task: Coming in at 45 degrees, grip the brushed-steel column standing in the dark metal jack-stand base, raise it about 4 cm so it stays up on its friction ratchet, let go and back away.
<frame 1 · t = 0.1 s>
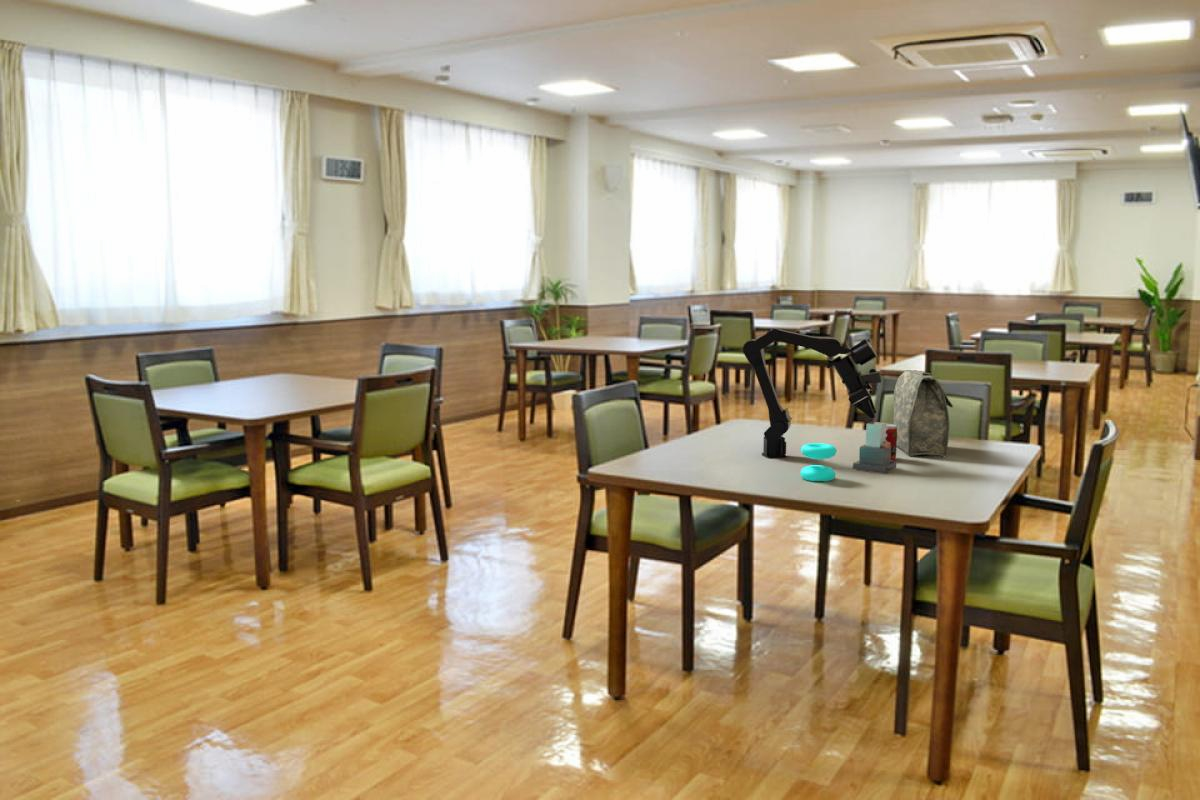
hand: (874, 415, 307), 15 cm above the table, tool tilted 30°, fingers open, 9 cm apart
stand base: (874, 468, 298), on the table
bag: (919, 451, 328), on the table
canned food: (883, 459, 314), on the table
donuts: (817, 479, 284), on the table
column: (876, 442, 297), point 8 cm above the table, slide at 0.0 cm
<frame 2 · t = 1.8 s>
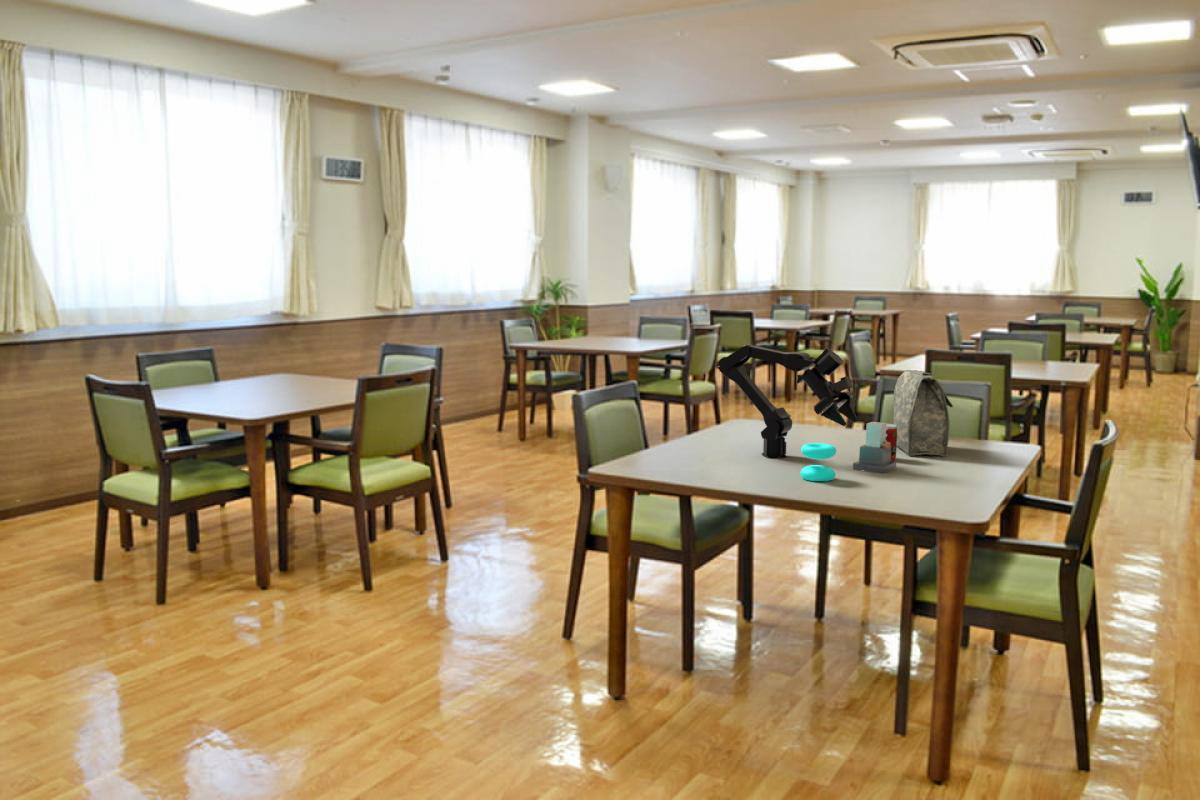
hand: (851, 423, 301), 13 cm above the table, tool tilted 45°, fingers open, 9 cm apart
nothing on the table moved.
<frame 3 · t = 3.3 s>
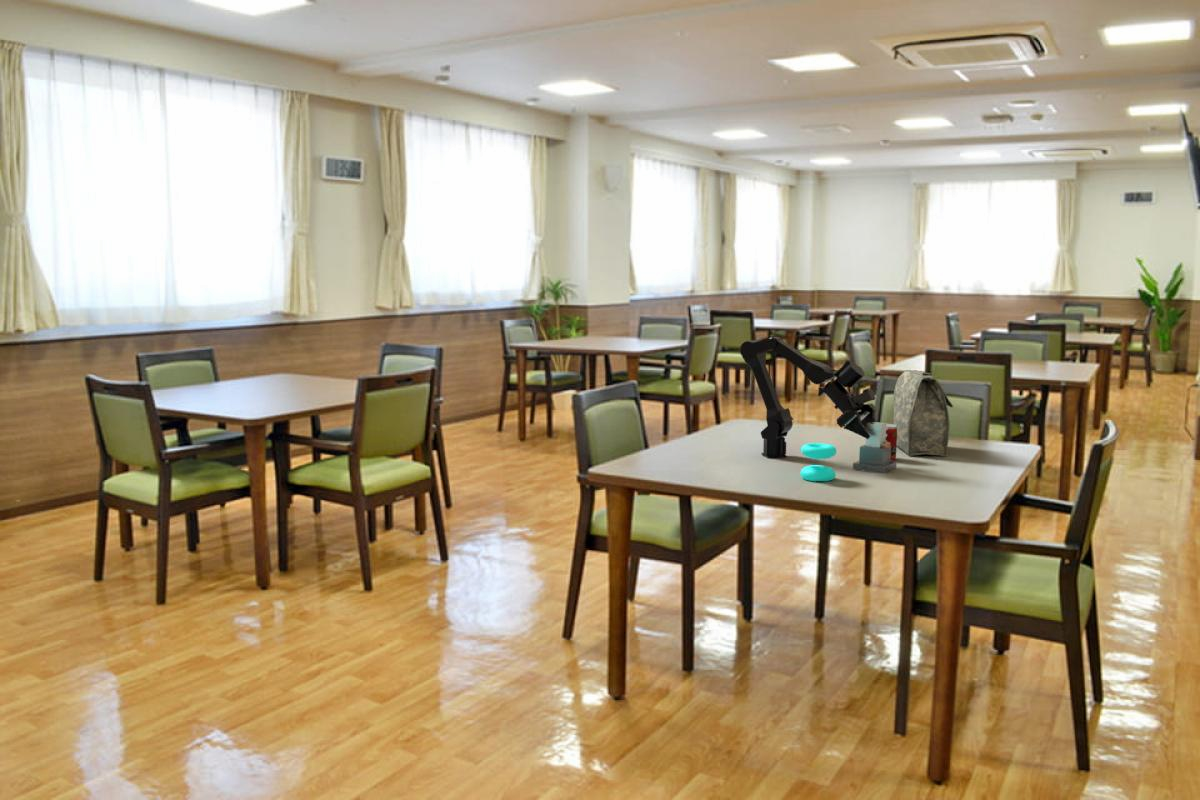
hand: (874, 435, 297), 10 cm above the table, tool tilted 45°, fingers open, 9 cm apart
nothing on the table moved.
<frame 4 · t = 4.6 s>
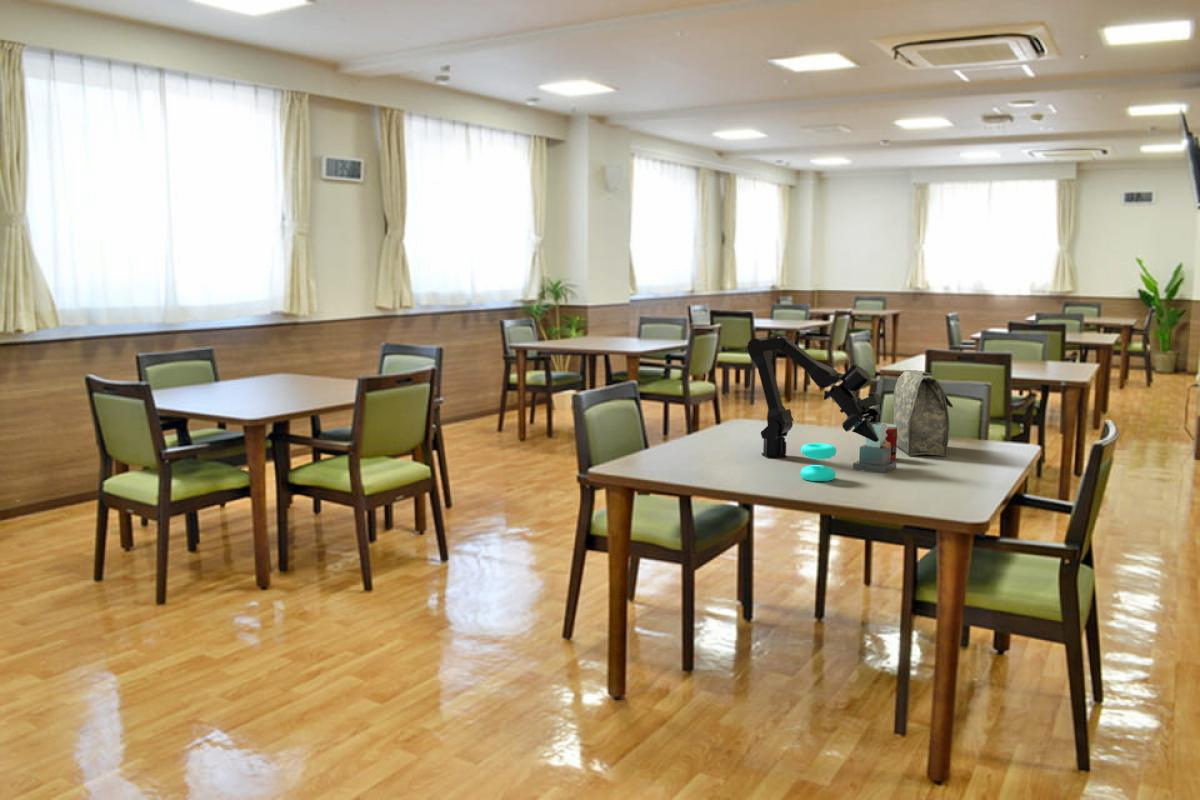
hand: (880, 440, 296), 9 cm above the table, tool tilted 45°, fingers closed on column, 4 cm apart
column: (876, 442, 297), point 8 cm above the table, slide at 0.0 cm, touching gripper
everything else where it was.
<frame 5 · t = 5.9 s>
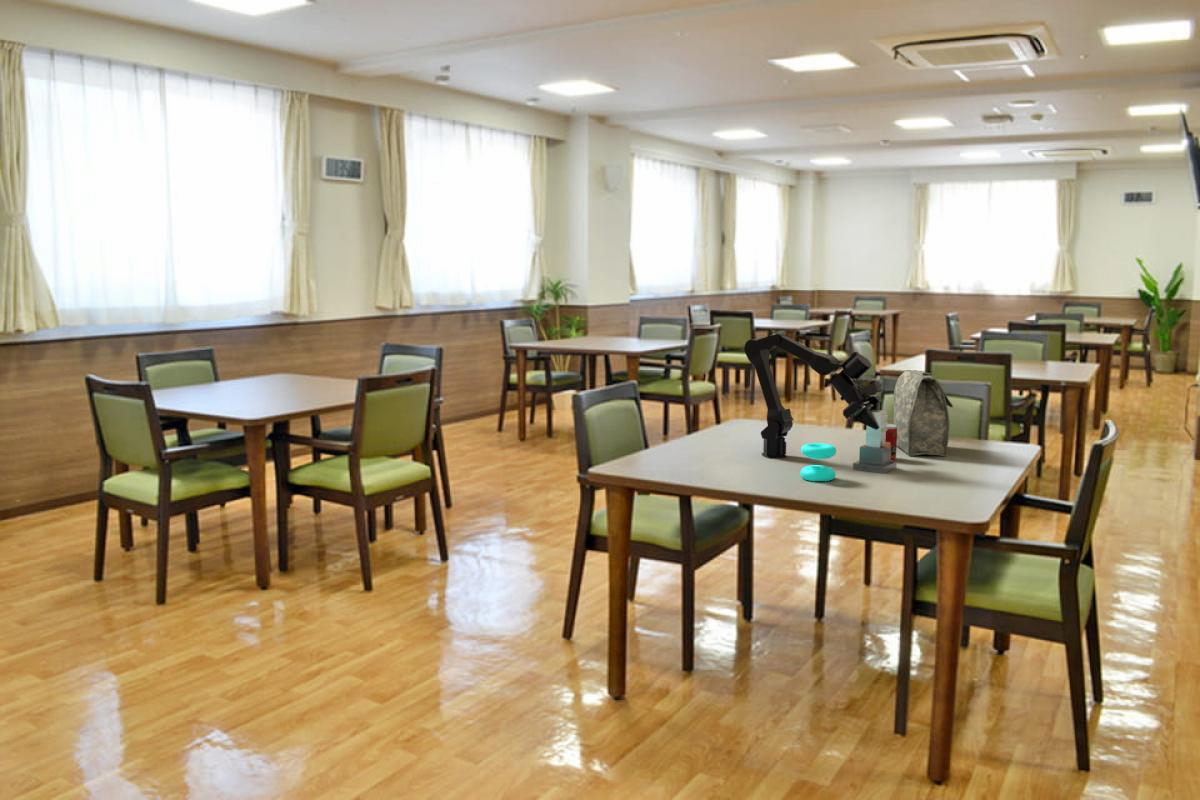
hand: (880, 427, 295), 13 cm above the table, tool tilted 45°, fingers closed on column, 4 cm apart
column: (877, 430, 296), point 12 cm above the table, slide at 3.8 cm, touching gripper
everything else where it was.
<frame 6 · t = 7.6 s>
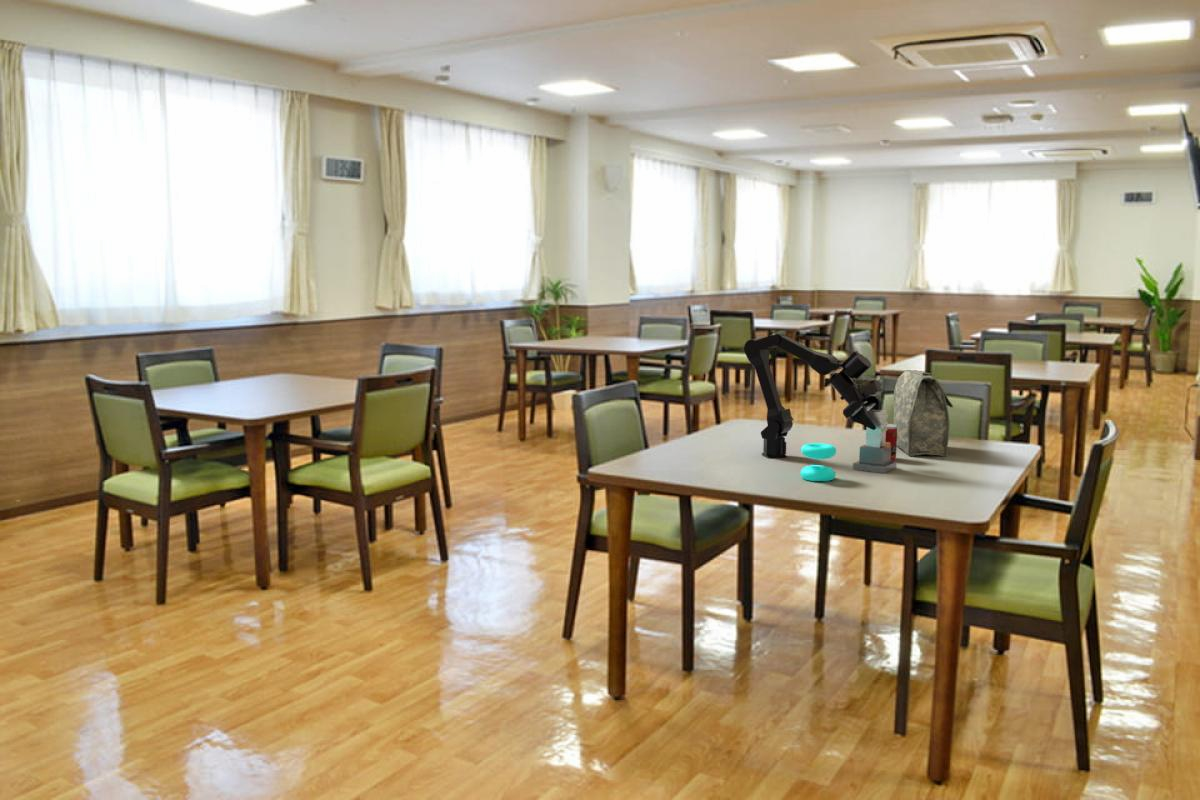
hand: (880, 427, 295), 13 cm above the table, tool tilted 45°, fingers open, 9 cm apart
column: (877, 430, 296), point 12 cm above the table, slide at 3.9 cm
everything else where it was.
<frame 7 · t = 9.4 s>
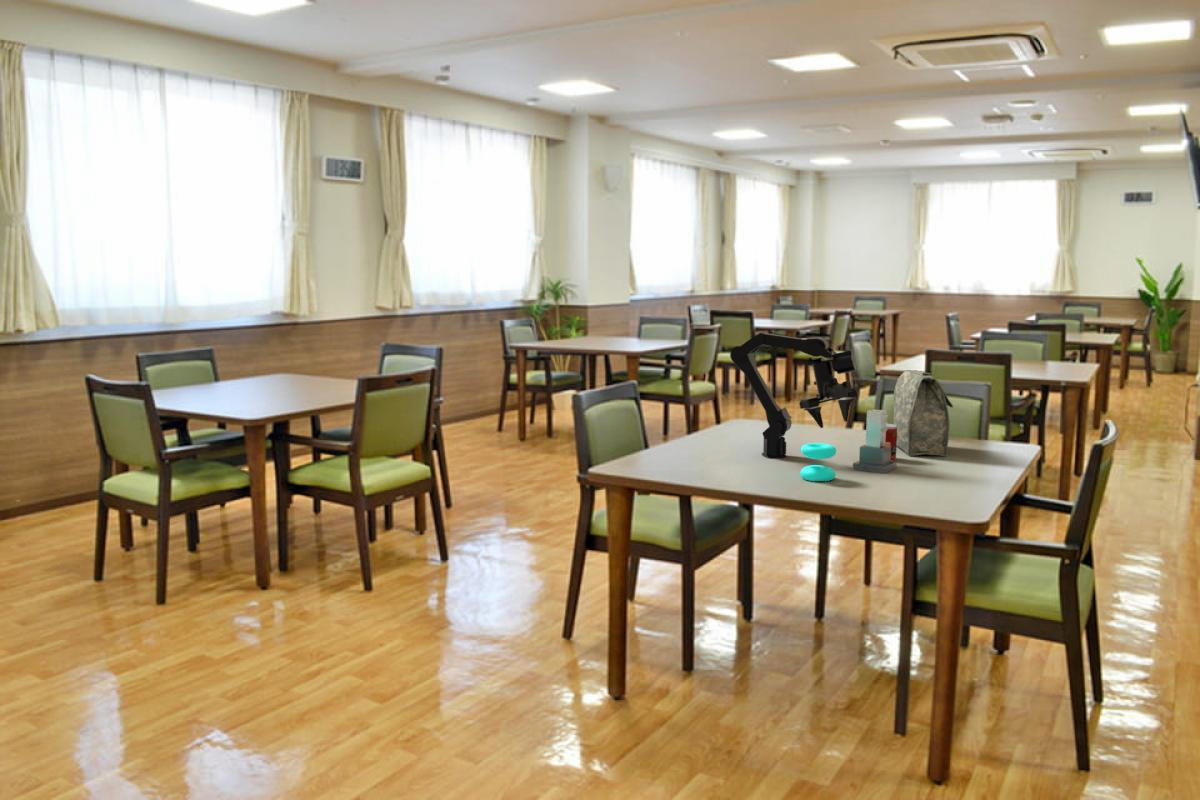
hand: (834, 424, 309), 12 cm above the table, tool pointing down, fingers open, 9 cm apart
nothing on the table moved.
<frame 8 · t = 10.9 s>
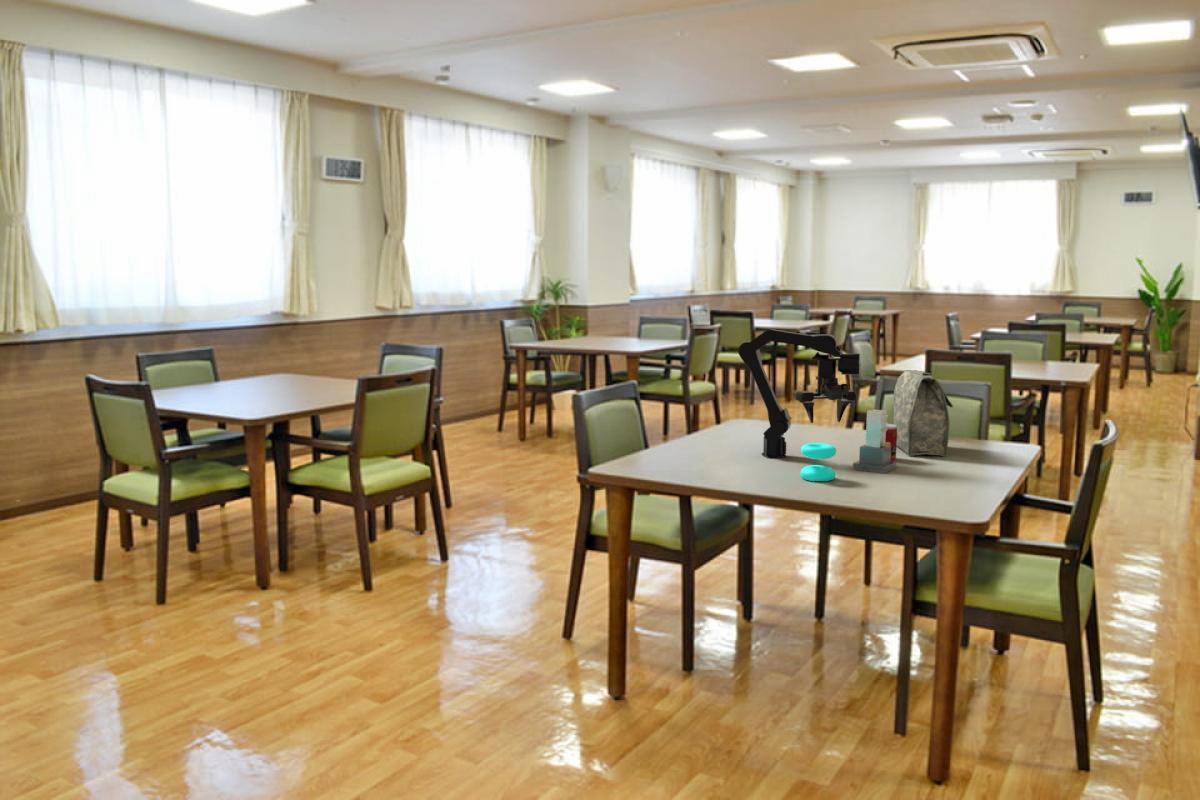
hand: (825, 422, 311), 12 cm above the table, tool pointing down, fingers open, 9 cm apart
nothing on the table moved.
at the end: column slide at 3.9 cm; the gripper is holding nothing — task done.
